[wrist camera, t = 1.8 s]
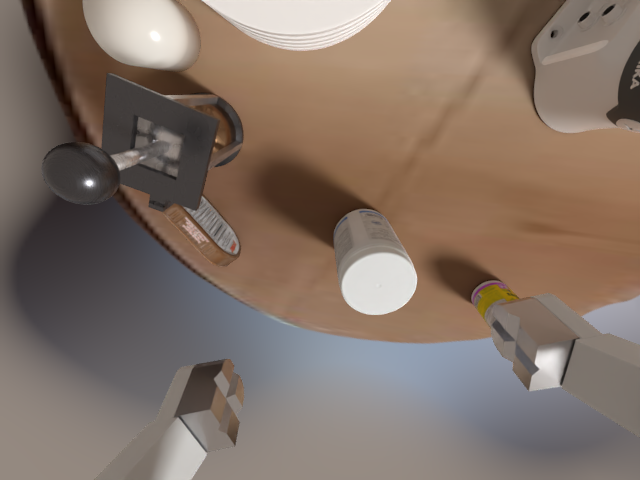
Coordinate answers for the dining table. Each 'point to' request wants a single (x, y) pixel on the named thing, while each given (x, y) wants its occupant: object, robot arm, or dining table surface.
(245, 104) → the dining table surface
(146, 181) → the black french press
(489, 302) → the supplement bottle
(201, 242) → the tin
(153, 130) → the plunger
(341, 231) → the supplement tub
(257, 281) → the dining table surface
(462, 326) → the dining table surface
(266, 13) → the plate stack
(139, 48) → the cream mug
